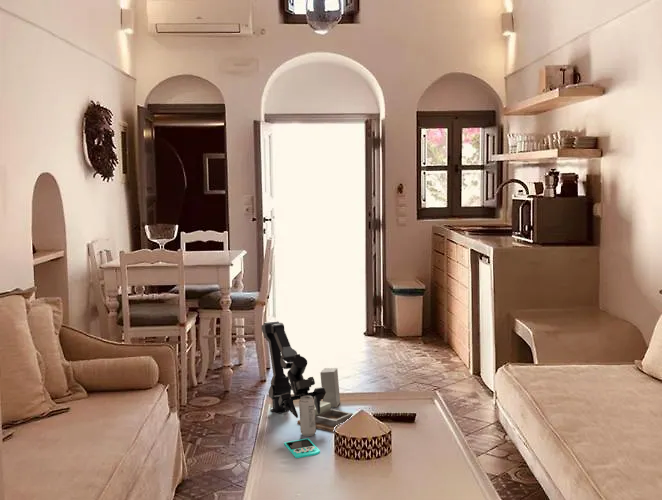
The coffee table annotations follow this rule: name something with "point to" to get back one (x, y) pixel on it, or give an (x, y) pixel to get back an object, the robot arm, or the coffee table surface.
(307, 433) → the energy drink can
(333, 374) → the skincare box
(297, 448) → the handheld game console
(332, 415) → the port plate
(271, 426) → the coffee table surface
